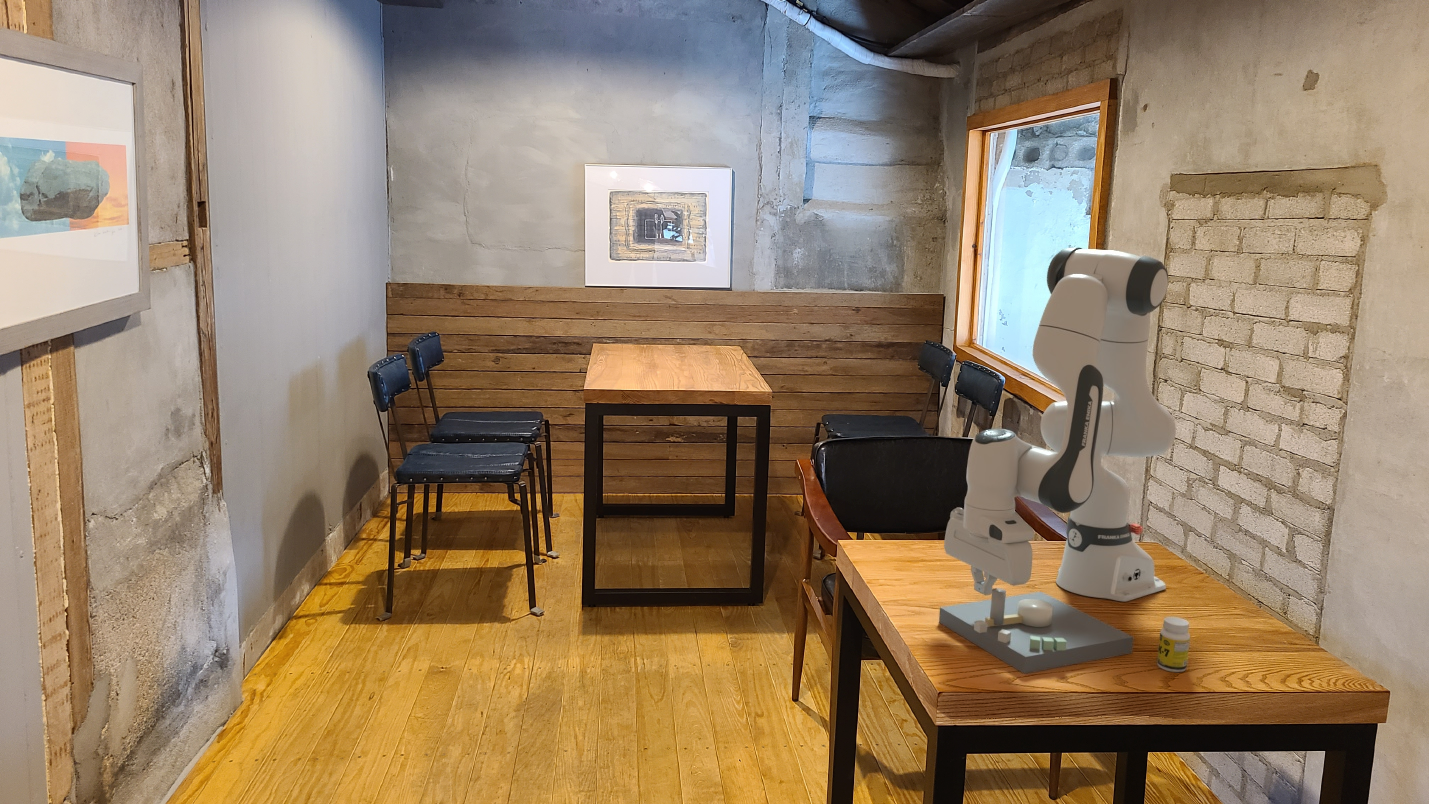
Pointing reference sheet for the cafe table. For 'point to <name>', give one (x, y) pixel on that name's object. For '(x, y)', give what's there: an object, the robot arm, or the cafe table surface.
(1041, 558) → the cafe table surface
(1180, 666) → the supplement bottle
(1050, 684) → the cafe table surface
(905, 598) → the cafe table surface
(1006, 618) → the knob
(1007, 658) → the dial plate
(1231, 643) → the cafe table surface
